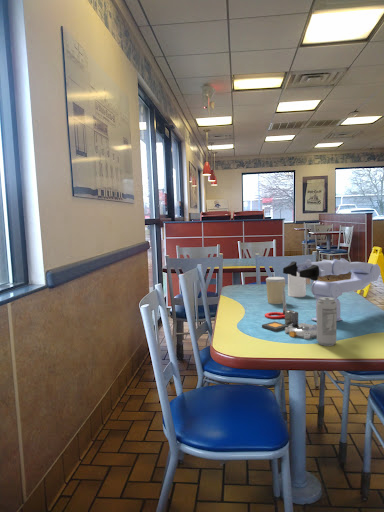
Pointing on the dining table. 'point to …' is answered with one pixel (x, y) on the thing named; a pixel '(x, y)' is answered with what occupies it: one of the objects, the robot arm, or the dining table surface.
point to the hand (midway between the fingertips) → (291, 272)
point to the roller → (288, 317)
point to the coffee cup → (275, 289)
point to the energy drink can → (326, 321)
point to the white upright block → (296, 286)
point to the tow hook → (282, 315)
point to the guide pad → (274, 326)
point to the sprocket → (301, 328)
